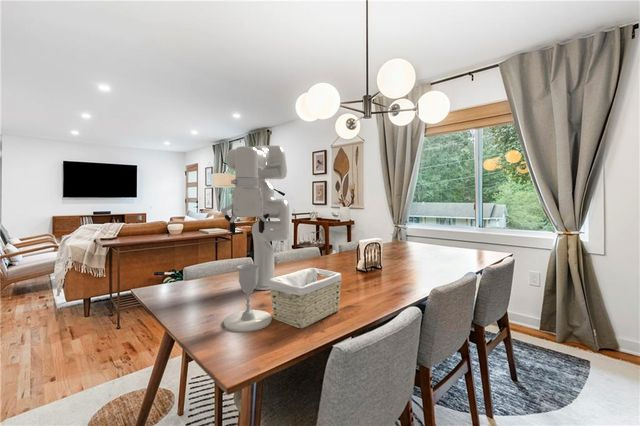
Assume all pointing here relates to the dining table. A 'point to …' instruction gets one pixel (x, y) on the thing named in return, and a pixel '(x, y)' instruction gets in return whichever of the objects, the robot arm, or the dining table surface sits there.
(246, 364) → the dining table surface
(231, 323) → the plate
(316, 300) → the storage basket
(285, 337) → the dining table surface
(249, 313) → the chalice
